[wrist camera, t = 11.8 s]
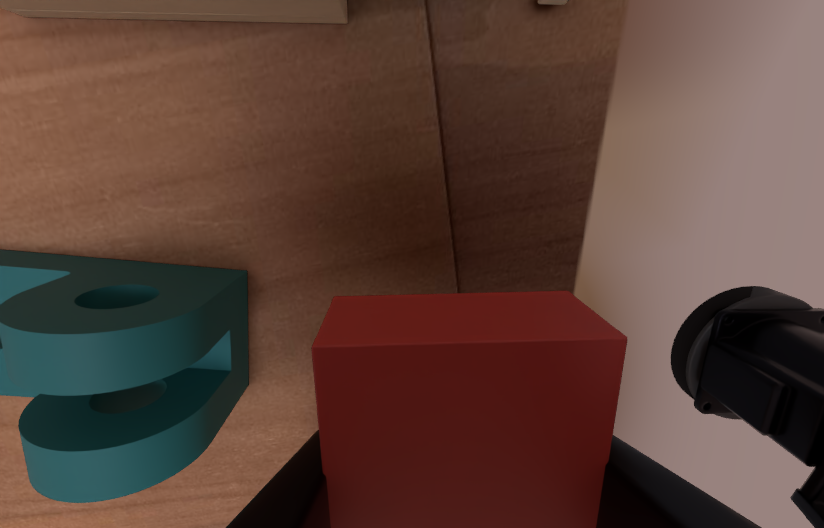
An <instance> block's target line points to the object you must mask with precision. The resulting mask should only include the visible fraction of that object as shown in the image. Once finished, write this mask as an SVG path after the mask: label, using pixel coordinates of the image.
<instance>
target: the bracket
mask: <svg viewBox="0 0 824 528" xmlns="http://www.w3.org/2000/svg"><path fill="white" fill-rule="evenodd" d="M248 385H249V366H248V287H247V271H244V270H232V269H221V268H209V267H198V266H186V265H174V264H163V263H151V262H140V261H128V260H116V259H105V258H93V257H82V256H70V255H58V254H47V253H35V252H23V251H12V250H0V395H6V396H22V397H35V398H34V399H33V400H32V401H31V402H30V403H29V404H28V405H27V406H26V408H25V409H24V410H23V412H22V414H21V416H20V419H19V431H20V436H21V441H22V446H23V451H24V456H25V461H26V465H27V470H28V475H29V480H30V483H31V484H32V486H33V488H34V489H35V490H36V491H37V492H39V493H40V494H42V495H43V496H45V497H48V498H50V499H53V500H57V501H63V502H72V503H86V502H97V501H104V500H110V499H115V498H119V497H123V496H126V495H129V494H133V493H136V492H139V491H141V490H144V489H146V488H149V487H151V486H154V485H156V484H158V483H160V482H162V481H164V480H166V479H168V478H170V477H171V476H173V475H175V474H176V473H178V472H180V471H181V470H183V469H184V468H185V467H187V466H188V465H190V464H191V463H192V462H193V461H194V460H196V459H197V458H198V457H199V456H200V455H201V454H202V453H203V452H204V451H205V450H206V449H207V447H208V446H209V445H210V443H211V442H212V440H213V439H214V437H215V436H216V434H217V433H218V431H219V430H220V428H221V427H222V425H223V423H224V422H225V420H226V419H227V417H228V416H229V414H230V413H231V411H232V410H233V408H234V406H235V405H236V403H237V402H238V400H239V399H240V397H241V396H242V394H243V393H244V391H245V389H246V388H247V386H248Z"/></svg>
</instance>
